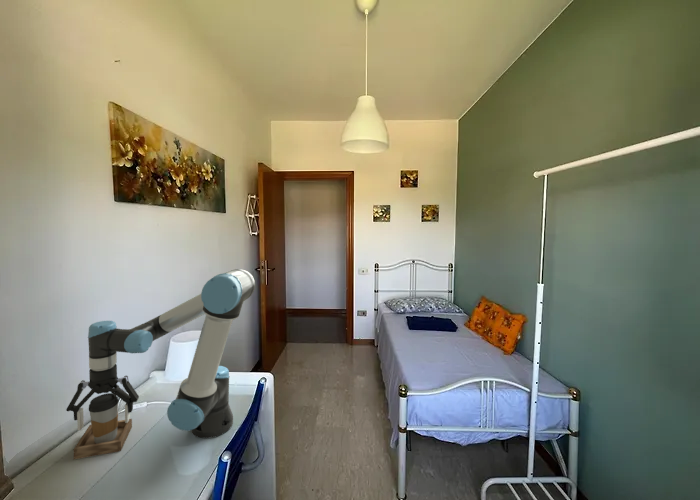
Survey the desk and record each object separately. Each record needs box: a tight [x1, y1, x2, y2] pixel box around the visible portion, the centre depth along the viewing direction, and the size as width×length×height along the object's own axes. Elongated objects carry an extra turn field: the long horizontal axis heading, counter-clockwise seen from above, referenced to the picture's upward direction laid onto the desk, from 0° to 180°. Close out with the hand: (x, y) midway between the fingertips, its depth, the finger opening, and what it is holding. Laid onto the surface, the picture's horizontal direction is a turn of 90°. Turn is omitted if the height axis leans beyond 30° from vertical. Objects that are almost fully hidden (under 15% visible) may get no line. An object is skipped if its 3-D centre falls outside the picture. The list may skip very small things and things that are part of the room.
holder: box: [72, 418, 133, 460], centre depth 112 cm, size 13×13×4 cm
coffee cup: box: [88, 392, 119, 444], centre depth 111 cm, size 8×8×15 cm
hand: (104, 424), depth 111 cm, fingers open, 13 cm apart
